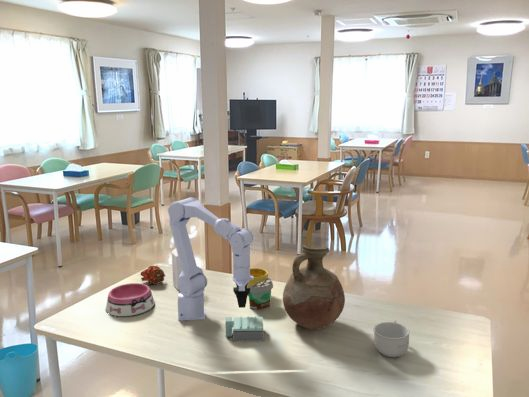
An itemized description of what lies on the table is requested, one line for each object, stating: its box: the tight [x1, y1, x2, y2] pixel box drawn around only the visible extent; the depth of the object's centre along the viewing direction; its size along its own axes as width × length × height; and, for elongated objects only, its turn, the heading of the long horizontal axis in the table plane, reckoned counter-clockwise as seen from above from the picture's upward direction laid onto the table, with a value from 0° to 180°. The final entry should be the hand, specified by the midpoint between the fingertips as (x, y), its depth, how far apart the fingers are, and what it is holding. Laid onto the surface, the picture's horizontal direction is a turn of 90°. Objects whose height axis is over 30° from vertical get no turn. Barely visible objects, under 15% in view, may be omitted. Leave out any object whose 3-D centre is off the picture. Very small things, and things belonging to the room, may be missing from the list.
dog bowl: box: [105, 282, 156, 318], centre depth 175 cm, size 18×19×7 cm
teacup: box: [373, 319, 411, 358], centre depth 144 cm, size 14×11×8 cm
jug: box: [282, 244, 346, 331], centre depth 157 cm, size 22×22×30 cm
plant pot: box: [247, 267, 269, 297], centre depth 185 cm, size 10×10×10 cm
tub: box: [232, 330, 264, 343], centre depth 152 cm, size 10×8×4 cm
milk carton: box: [171, 247, 182, 291], centre depth 193 cm, size 7×7×19 cm
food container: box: [248, 276, 274, 310], centre depth 173 cm, size 12×6×10 cm, turn 143°
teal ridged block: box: [225, 316, 264, 338], centre depth 152 cm, size 12×8×6 cm, turn 92°
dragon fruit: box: [140, 265, 166, 286], centre depth 198 cm, size 8×8×12 cm
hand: (242, 302), depth 155 cm, fingers open, 7 cm apart
